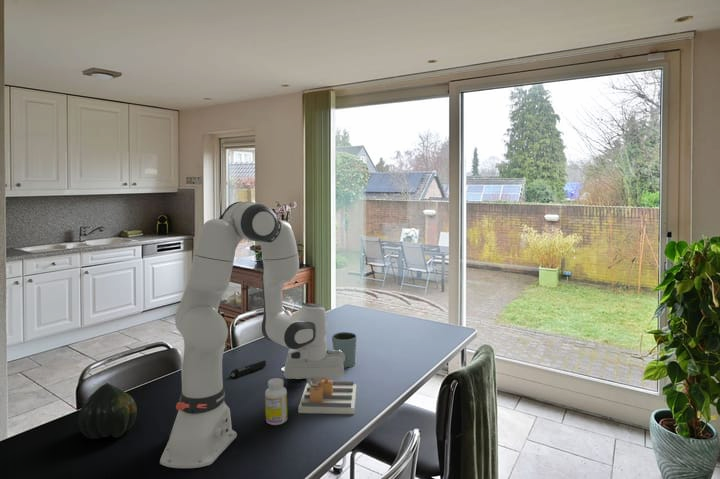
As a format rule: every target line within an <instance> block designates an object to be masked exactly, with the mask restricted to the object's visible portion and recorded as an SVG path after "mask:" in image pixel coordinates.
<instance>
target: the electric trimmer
mask: <svg viewBox="0 0 720 479" xmlns="http://www.w3.org/2000/svg"><path fill="white" fill-rule="evenodd" d="M266 366H267V361H266V360H261V361H259V362H256V363H255V362H254V363H252V364H249V365H246V366H243V367H240V368H235V369H234V370H232V371H231V372H230V374H229V377H230V378H231V379H234V380H235V379H238V377H241V376H244V375H246V374H249V373H254V372H257V371H258V370H261V369H262V368H264V367H266Z"/></svg>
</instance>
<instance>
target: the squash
mask: <svg viewBox="0 0 720 479" xmlns="http://www.w3.org/2000/svg"><path fill="white" fill-rule="evenodd" d="M81 406H82V407H81V408H80V409H79V413H78V417H77V424H78V427H79V430H80V432H81V433H82V435H83V436H84V437H86V438H87V439H91V440H92V439H95V440H99V439H102V438H107V437H110V436H111V437H113V438H120V437H122V436H123V435H124V433H125V432H127V431H128V430H130V429H131V428H132V427H133V426H134V424H135V421H136V419H137V413H138V408H137V403H136V400H135V399H134V398H133V397H132V396H131V395H130V394H129V393H127V392H126V391H124V390H121V388H119V387H116V386H115V385H113V384H111V383H109V382H105V384H103V385H101V386H100V387H99V388H97V389H96V390H95V391H94V392H93V393H92V394H91V395H89V397H87V399H86V401H84V403H83V404H82V405H81Z"/></svg>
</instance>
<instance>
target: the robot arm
mask: <svg viewBox="0 0 720 479" xmlns="http://www.w3.org/2000/svg"><path fill="white" fill-rule="evenodd" d="M277 216H278V215H276V212H274V210H273V209H272V208H270V207H269V206H268V205H265V204H262V203H257V202H254V201H236V202H233V203H231V204H230V205H228V206H227V207H226V208H225V209H224V211H223V213H222V214H221V215H220V216H219V217H218V218H212V219H208V220H207V221H206V222H204V223H203V225H202V227H201V229H200V232H199V235H198V238H197V240H196V243H195V247H194V252H193V256H192V261H191V267H190V271H189V274H188V275H189V277H188V279H187V283H186V287H185V290H184V291H183V293H182V294H183V295H182V298H181V300H180V302H179V306H178V308H177V309H176V311H175V315H174V316H175V317H174V322H175V328H176V330H177V331H178V332H179V334H180V335H181V336H182V338H183V343H184V344H183V345H184V346H183V347H184V348H183V357H182V363H181V366H180V367H181V368H180V371H181V372H180V373H181V391H180V397H179V401H178V402H177V403H176V405H175V409H176V411H177V415H176V418H175V420H174V424H173V426H172V429H171V432H170V434H169V439H168V441H167V443H166V446H165V448H164V450H163V452H162V455H161V457H160V460H159V465H162V466H163V467H164V466H165V467H167V468H173V469H195V468H196V469H197V468H202V467H206V466H210V465H212V464H213V463H214V462H215V461H216V460H217V459H218V458H219V456H220V455H221V454H222V453H224V451H225V450H226V449H227V448H228V447H229V445H231V443H233V441H234V440H235V439H236V438H238V437H237V436H238V434H237V431H235V430H234V429H233V428H232V419H231V409H230V407H229V406H228V405H227V404H226V402H225V399H226V397H225V396H226V391H225V386H224V385H223V357H224V350H225V344H226V341H227V340H228V337H229V328H228V325H227V323H226V320H225V318H224V317H223V316H222V315H221V314H220V313H219V307H220V305H221V301H222V299H223V297H224V295H225V292H226V291H227V290H229V289H228V288H229V286H230V281H231V275H232V271H233V266H234V261H235V256H236V250H237V248H238V246H239V245H240V242H242V240H248V241H254V242H258V244H259V246H260V249H261V257H262V264H263V273H262V274H263V275H262V301H263V303H262V304H263V316H262V317H263V318H262V321H261V322H262V323H261V333H262V335H263V337H264V338H265V339H266V340H267V341H268V342H271V343H276V344H279V345H280V346H283V347H285V348H287V349H288V351H287V358H286V361H285V364H284V369H283V370H284V371H283V376H284V378H285V379H287V380H288V379H291V380H292V379H306V382H307V383H308V384H309V385H310V388H311V387H315V386H318V387H319V384H320V383H321V381H322V378H328V379H342V378H343V377H344V375H345V368H344V366H343V362H344V361H345V354H344V353H343V352H342V351H340V350H333V349H328V338H327V330H328V322H327V312H326V309H325V307H324V306H323V305H320V304H317V303H311V302H310V303H308V302H307V303H303V304H302V306H301V308H300V309H299V310H298V311H297V312H296V313H295V314H293V315H292V316H290V315H288V314H287V313H286V312H285V311H284V308H283V306H284V305H283V291H282V289H283V286H284V284H286V283H288V282H291V281H292V280H293V279H294V278H295V277H296V276H297V275H298V274H299V270H300V259H299V251H298V245H297V242H296V237H295V233H294V231H293V228H292V226H291V224H290V223H289V222H288V221H286V220H282V219H280V218H278V217H277ZM340 352H341V353H340ZM316 378H318V382H317V383H312V382H311V381H312V379H316Z"/></svg>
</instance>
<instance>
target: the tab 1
mask: <svg viewBox="0 0 720 479" xmlns="http://www.w3.org/2000/svg"><path fill="white" fill-rule="evenodd" d="M310 402H323V387H318V386H315V387H311V388H310Z"/></svg>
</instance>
